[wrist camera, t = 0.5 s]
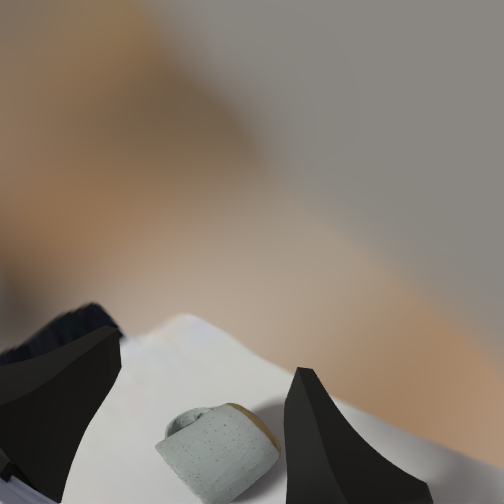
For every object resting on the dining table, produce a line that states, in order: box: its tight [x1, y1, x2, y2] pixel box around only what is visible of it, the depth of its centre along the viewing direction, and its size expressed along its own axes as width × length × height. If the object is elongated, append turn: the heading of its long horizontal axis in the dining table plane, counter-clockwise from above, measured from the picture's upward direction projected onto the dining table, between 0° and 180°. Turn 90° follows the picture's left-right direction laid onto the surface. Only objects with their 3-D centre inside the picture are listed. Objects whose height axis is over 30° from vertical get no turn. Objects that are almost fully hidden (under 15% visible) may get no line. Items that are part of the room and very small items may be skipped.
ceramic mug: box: [155, 403, 280, 504], centre depth 21 cm, size 11×8×8 cm
